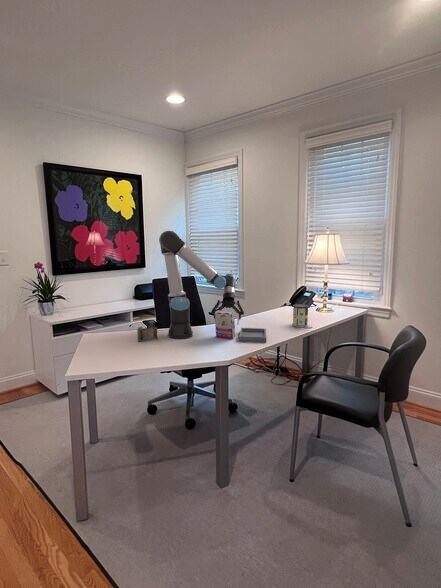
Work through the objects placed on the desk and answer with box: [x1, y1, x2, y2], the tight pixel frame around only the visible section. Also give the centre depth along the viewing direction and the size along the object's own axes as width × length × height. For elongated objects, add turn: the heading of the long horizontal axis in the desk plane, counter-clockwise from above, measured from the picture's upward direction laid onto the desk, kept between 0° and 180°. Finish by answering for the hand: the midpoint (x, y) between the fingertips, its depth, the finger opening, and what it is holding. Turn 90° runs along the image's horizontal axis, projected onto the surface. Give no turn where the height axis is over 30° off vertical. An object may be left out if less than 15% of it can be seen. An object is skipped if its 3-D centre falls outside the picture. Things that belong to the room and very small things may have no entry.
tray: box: [238, 327, 267, 343], centre depth 217 cm, size 16×20×3 cm
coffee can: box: [292, 303, 309, 328], centre depth 246 cm, size 10×10×14 cm
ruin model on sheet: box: [136, 326, 159, 343], centre depth 208 cm, size 11×3×10 cm, turn 119°
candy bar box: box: [214, 309, 236, 340], centre depth 214 cm, size 11×5×16 cm, turn 67°
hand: (226, 323), depth 215 cm, fingers open, 13 cm apart
